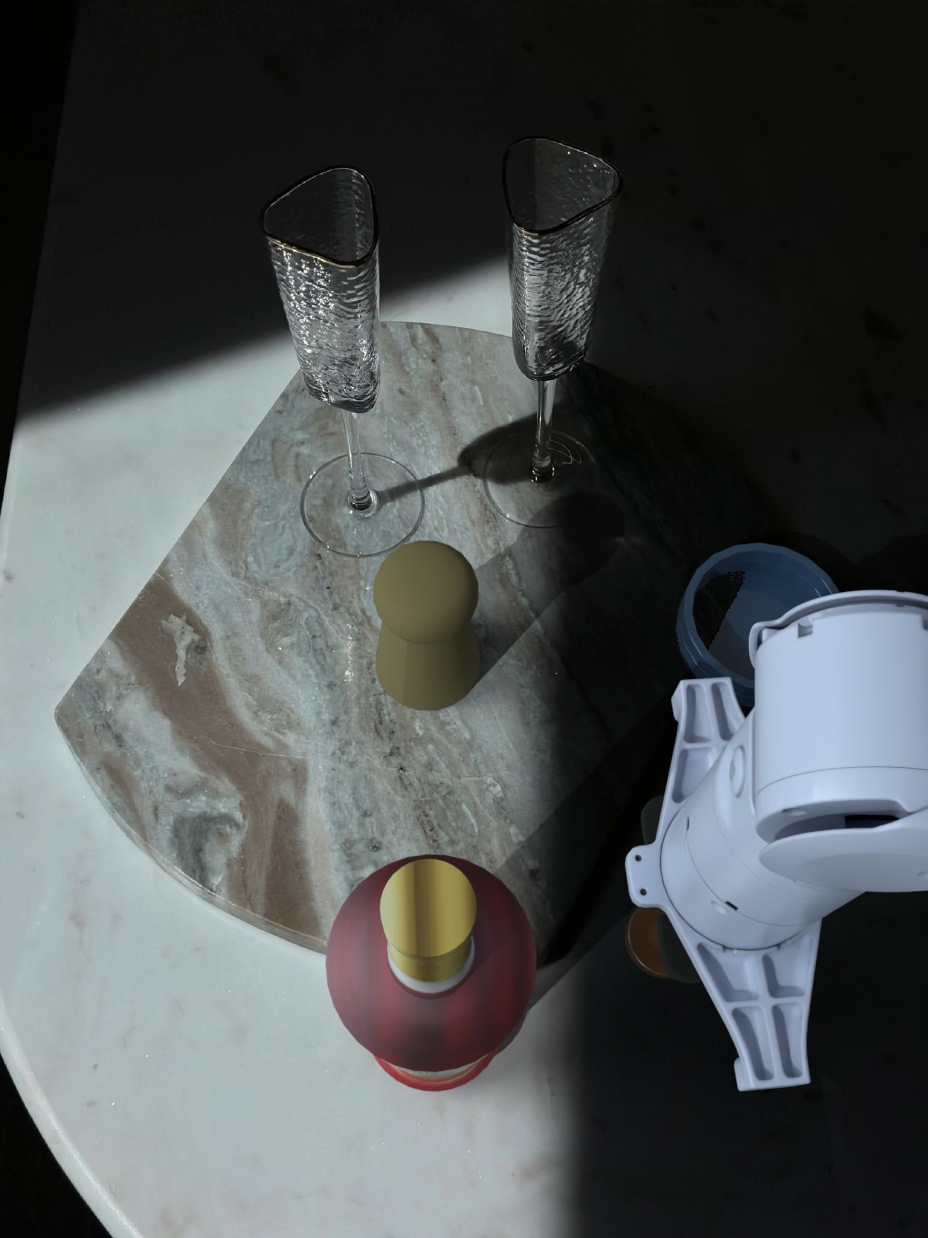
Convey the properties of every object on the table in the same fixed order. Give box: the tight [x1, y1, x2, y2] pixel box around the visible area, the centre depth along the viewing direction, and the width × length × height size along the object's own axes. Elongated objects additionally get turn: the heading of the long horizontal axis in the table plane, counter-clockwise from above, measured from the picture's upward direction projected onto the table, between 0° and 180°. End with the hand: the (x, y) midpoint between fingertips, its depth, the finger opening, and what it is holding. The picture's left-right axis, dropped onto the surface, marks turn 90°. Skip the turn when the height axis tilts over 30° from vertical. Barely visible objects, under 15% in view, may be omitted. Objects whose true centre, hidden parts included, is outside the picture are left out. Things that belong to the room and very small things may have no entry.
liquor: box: [325, 853, 537, 1093], centre depth 44 cm, size 7×7×28 cm
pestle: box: [624, 906, 671, 980], centre depth 50 cm, size 4×4×10 cm
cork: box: [372, 539, 481, 712], centre depth 60 cm, size 6×6×11 cm
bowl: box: [675, 542, 841, 708], centre depth 65 cm, size 9×9×3 cm
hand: (688, 915), depth 49 cm, fingers closed on pestle, 2 cm apart
